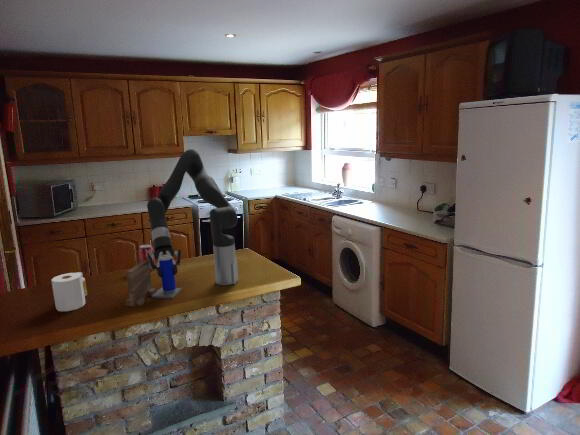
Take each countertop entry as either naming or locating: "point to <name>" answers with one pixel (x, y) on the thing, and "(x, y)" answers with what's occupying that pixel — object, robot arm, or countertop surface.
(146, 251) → the soda can
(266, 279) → the countertop surface
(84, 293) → the supplement bottle
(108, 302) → the countertop surface
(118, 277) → the countertop surface
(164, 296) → the coaster
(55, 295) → the toilet paper
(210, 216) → the robot arm
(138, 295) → the board
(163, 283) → the beverage can
